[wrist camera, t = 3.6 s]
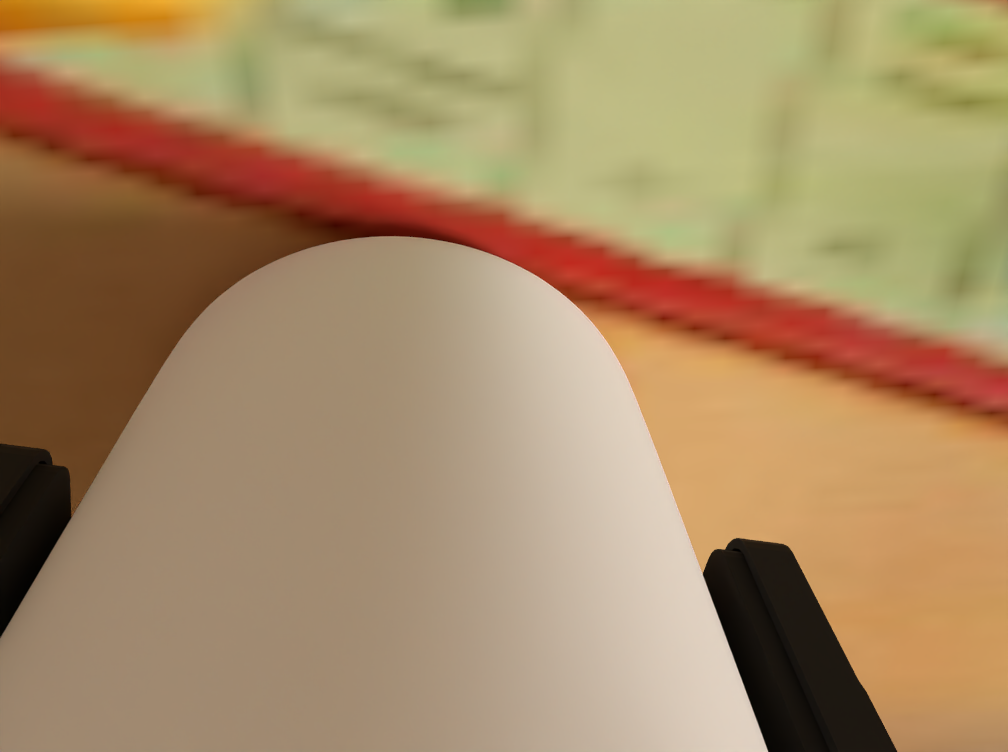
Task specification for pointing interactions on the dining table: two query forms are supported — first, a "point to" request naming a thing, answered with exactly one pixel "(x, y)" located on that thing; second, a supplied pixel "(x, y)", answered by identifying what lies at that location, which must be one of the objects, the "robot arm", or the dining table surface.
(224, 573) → the can
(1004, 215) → the dining table surface
